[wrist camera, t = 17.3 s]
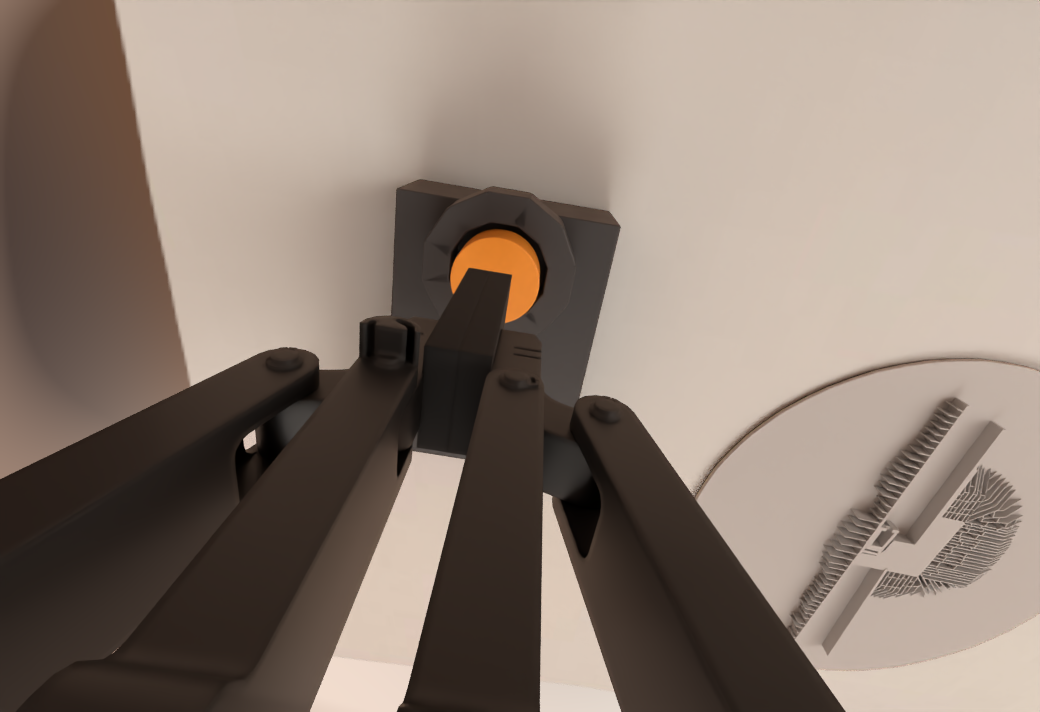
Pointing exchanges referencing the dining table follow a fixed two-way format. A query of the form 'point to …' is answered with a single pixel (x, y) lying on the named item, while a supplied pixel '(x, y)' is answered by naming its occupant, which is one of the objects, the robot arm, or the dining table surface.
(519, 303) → the button
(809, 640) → the plate
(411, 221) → the control block
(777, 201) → the dining table surface
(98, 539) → the robot arm
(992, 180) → the dining table surface
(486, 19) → the dining table surface
